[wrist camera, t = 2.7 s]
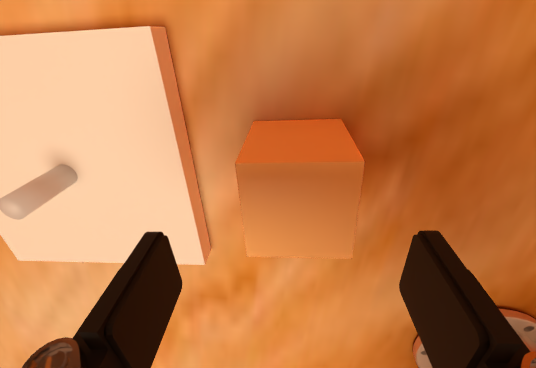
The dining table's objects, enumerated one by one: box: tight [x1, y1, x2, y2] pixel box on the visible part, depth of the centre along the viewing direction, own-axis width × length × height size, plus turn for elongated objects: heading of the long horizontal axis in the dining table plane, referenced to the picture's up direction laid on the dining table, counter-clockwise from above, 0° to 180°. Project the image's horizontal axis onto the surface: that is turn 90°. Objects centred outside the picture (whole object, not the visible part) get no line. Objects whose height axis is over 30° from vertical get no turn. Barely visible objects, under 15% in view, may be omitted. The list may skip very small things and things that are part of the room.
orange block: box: [235, 119, 365, 259], centre depth 17 cm, size 6×6×7 cm
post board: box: [0, 26, 211, 265], centre depth 19 cm, size 18×18×6 cm
